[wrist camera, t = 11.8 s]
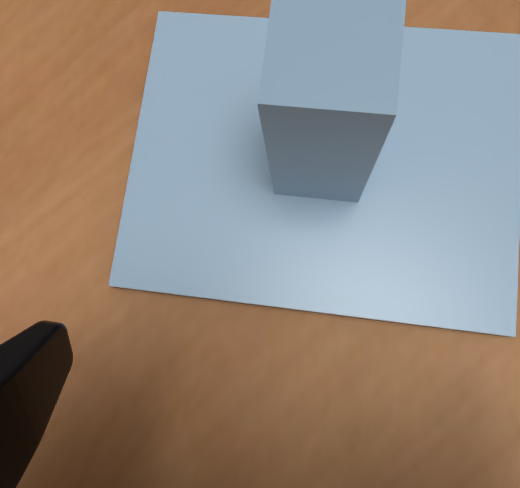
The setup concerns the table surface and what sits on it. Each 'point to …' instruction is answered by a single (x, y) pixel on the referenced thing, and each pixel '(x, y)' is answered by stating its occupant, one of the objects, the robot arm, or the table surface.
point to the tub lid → (329, 166)
